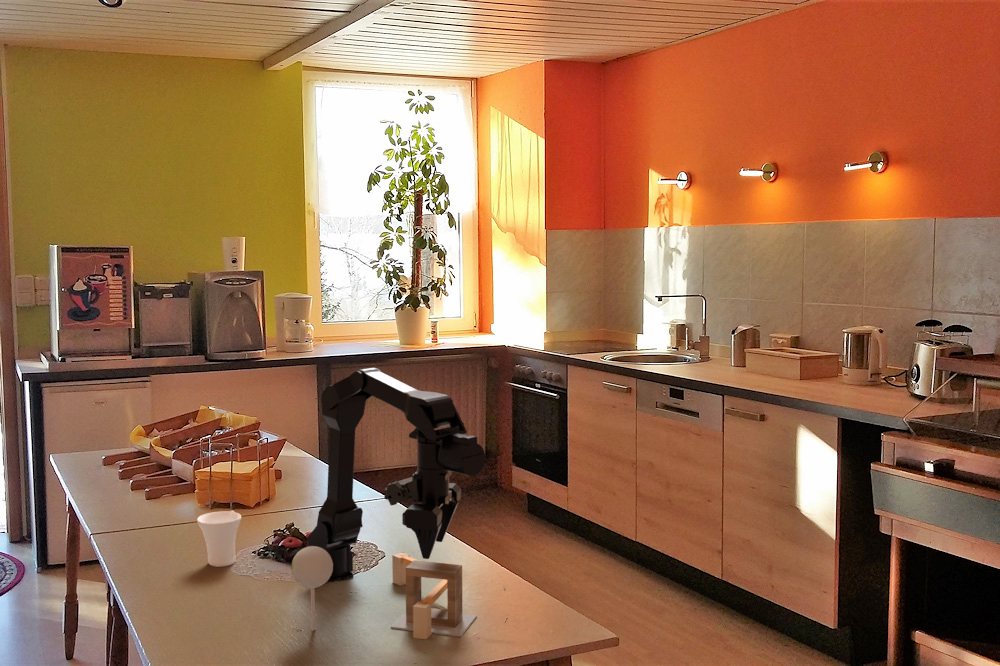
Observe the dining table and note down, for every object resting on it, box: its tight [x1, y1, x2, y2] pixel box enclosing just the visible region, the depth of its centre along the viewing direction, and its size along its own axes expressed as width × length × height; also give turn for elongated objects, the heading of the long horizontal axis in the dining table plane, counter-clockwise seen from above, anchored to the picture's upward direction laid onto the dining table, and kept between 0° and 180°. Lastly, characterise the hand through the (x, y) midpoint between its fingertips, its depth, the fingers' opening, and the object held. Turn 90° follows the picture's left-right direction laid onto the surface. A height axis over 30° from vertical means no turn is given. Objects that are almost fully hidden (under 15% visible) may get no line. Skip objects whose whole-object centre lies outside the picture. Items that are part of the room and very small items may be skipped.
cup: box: [196, 509, 242, 568], centre depth 207 cm, size 9×9×10 cm
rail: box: [391, 552, 447, 640], centre depth 183 cm, size 13×28×6 cm, turn 29°
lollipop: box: [290, 545, 333, 632], centre depth 172 cm, size 7×7×15 cm
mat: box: [390, 611, 477, 638], centre depth 176 cm, size 9×13×1 cm
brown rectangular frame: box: [405, 559, 463, 628], centre depth 176 cm, size 4×9×10 cm, turn 74°
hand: (432, 549), depth 179 cm, fingers open, 9 cm apart
